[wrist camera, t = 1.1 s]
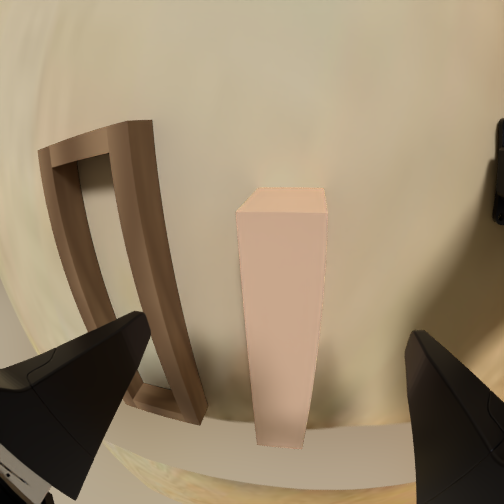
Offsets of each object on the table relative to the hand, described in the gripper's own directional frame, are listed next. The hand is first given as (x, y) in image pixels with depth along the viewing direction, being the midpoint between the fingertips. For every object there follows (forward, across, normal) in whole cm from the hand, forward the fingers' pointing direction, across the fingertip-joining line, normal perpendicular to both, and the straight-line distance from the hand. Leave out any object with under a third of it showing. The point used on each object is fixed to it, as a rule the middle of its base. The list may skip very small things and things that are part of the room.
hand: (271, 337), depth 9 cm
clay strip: (+8, 0, +6) cm, 10 cm away
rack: (+8, +12, +5) cm, 15 cm away
